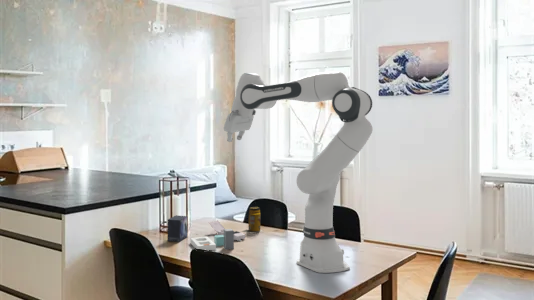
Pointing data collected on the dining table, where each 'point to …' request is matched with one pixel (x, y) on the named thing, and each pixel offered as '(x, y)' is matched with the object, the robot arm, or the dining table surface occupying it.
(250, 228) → the condiment
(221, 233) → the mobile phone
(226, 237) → the block
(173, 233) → the small box
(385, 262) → the dining table surface
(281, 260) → the dining table surface
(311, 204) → the robot arm
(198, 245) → the power strip
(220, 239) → the teal cube
